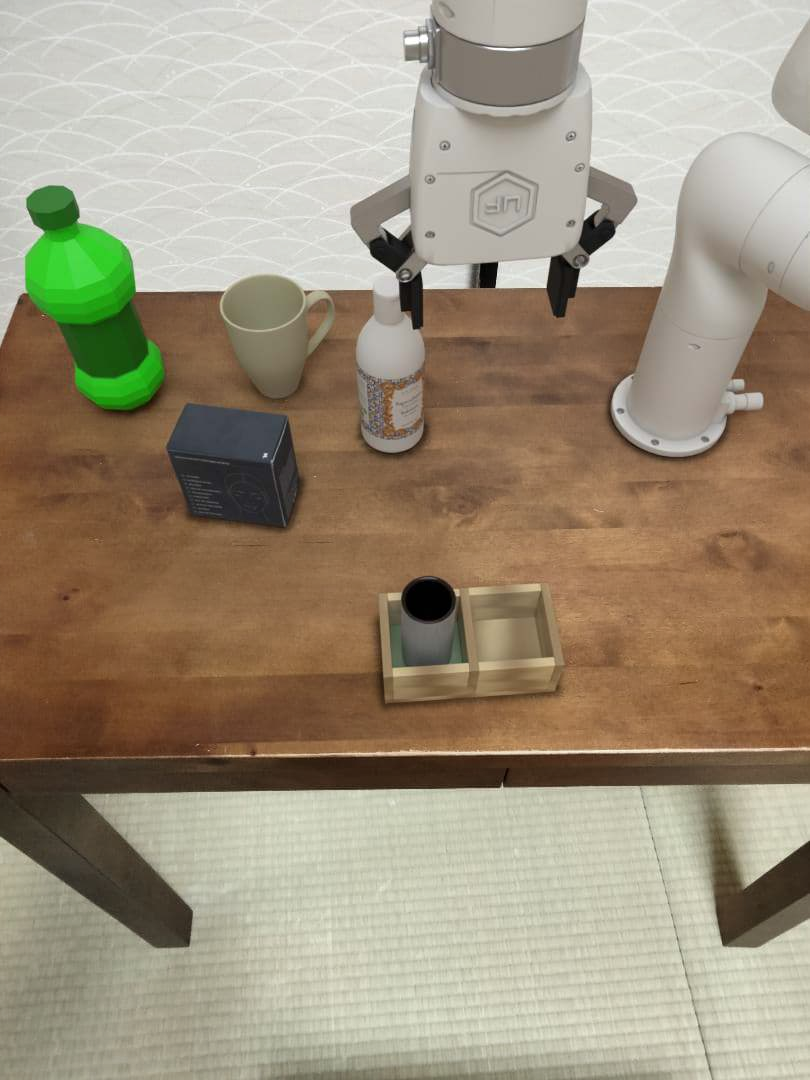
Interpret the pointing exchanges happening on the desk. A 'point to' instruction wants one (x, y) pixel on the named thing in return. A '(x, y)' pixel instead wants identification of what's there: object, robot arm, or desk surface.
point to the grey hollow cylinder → (427, 621)
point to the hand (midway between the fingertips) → (485, 309)
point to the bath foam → (390, 373)
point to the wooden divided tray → (479, 646)
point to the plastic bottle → (91, 302)
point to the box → (235, 464)
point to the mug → (272, 329)
